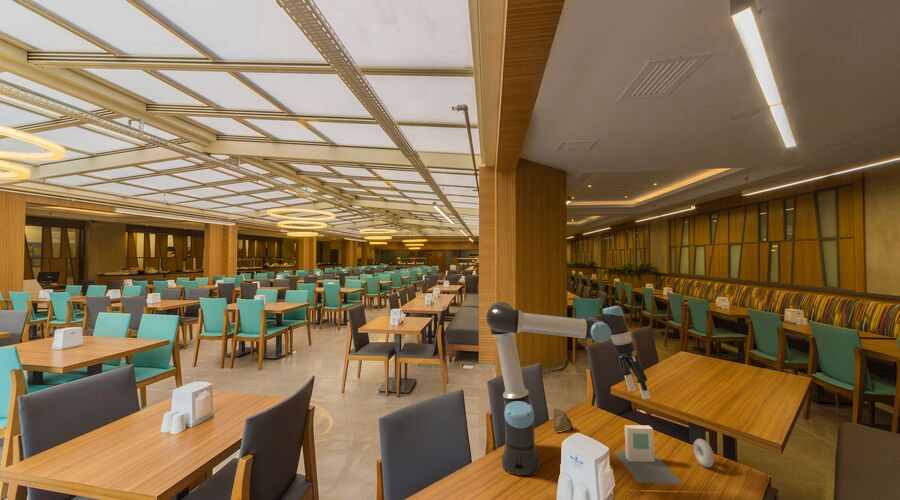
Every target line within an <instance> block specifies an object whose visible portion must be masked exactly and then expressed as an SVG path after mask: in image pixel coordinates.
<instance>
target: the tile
mask: <svg viewBox="0 0 900 500" xmlns="http://www.w3.org/2000/svg"><path fill="white" fill-rule="evenodd" d="M624 441H625V443H624V445H625V446H624V447H625V448H624V449H625V452H626V458H627V459H628V461H639V462H654V454H655V445H654V428H653V427H652V426H650V425H637V424H636V425H635V424H634V425H633V424H631V425H630V424H624Z"/></svg>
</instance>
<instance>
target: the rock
mask: <svg viewBox="0 0 900 500" xmlns="http://www.w3.org/2000/svg"><path fill="white" fill-rule="evenodd" d="M553 419H554V422H553V432H554V431H555V432H557V431H564V430H567V429H569V428H573V429H574V426H573V424H572V422H571V419H570V418H569V417H568V415H567V413H566V412H564V411H563V410H562V409H559V408H554V409H553ZM555 432H554V433H555Z"/></svg>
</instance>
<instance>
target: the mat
mask: <svg viewBox="0 0 900 500" xmlns="http://www.w3.org/2000/svg"><path fill="white" fill-rule="evenodd" d="M614 454H615V455H616V456H617V458H618V459H619V460H620V461H621V463H622V465H624V467H625V468H626V469H627V470H628V472H629V473H630V474H631V476H632V477H633V479H634V480H635V481H636V482H637V484H673V485H674V484H675V485H676V484H677V485H678V484H679V485H684V483H683V482H682V480H681V479H679V477H677V476H676V475H675V474H674V473H673V472H672V471H671V470H670V468H669V467H668V466H667V465H666V464H665V463H664V462H663V461H662V460H661V459H660V458H659V457H658V456H657V455H656V454H655V453H654V462H639V461H628V459H627V458H626V451H614Z"/></svg>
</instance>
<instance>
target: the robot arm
mask: <svg viewBox="0 0 900 500" xmlns="http://www.w3.org/2000/svg"><path fill="white" fill-rule="evenodd" d="M622 309H623V308H622V307H621V306H620V305H613V306H612V305H611V306H609V307H604V308H603V309H602V313H601V314H597V315H591V316H588V317H583V318H576V317H575V318H574V317H567V316H566V317H565V316H555V315H546V314H537V313H529V312H523V311H521V310H520V309H515V308H513V307H512V305H510V304H509V303H507V302H504V301H498V302H494V303H493V304H491V306H489V308H488V310H487V313H486V323H487V325H488V326H489V330H490V335H491V336H492V337H494V338H495V343H496V348H497V354H498V358H499V365H500V369H501V376H502V380H503V383H504V384H503V385H504V389H505V391H504V392H503V394H502V397H503V403H504V412H503V413H504V414H503V415H504V429H505V430H504V434H505V440H504V441H505V443H504V444H505V446H504V450H503V453H502V456H501V467H502V466H503V467H502V469H503V468H504V469H505V470H507V471H509V472H511V473H513V474H519V475H531V474H534V473H536V472H537V471H538V470H539V471H540V469H541V466H540V465H541V464H540V463H541V462H540V458H539V457H538V452H537V450H536V446H535V412H534V407H533V403H532V401H531V400H532V399H531V396H530V392H529V390H528V389H527V388H526V387H525V384H524V380H523V379H524V378H523V372H522V368H521V364H520V363H521V362H520V358H519V352H518V348H517V347H518V346H517V343H516V337H515V334H519V333H520V332H524V333H525V332H526V333H534V334H543V335H549V336H550V335H551V336H560V337H569V338H578V339H579V338H580V339H586V340H594V341H596V342H598V343H605V342H607V341H608V340H610V339H611V341H612V344H613V346H614V350H615V353H616V354H617V355H618V359H619V365H620V366H619V367H620V373H621V374H623V376H624V379H625V383H626V385H627V389H628V392H634V391H637V389H636V386H635V383H634V379H633V376H632V373H633V374H634V376H635V379H636V380H637V381H636V383H637V385H638V387H639V391H640V394H641V396H642V399H643V400H647V399H651V398H652V397H651V393H650V391H649V389H648V388H649V387H648V385H647V382H646V381H648V377H647V376H646V373H645V372H644V370H643V368H642V365H641V364H640V362H639V359H638V357H637V355H633V352H636V348H635V344H634V342H633V341H632V340H633V339H632V336H631V335H632V332H630V331H629V327H628V325H627V320H626V317H625V314H624V311H623V310H622ZM631 371H632V372H631ZM539 468H540V469H539ZM504 469H503V470H504ZM505 470H504V471H505ZM507 471H506V472H507ZM539 471H538V472H539ZM538 472H537V473H538ZM537 473H536V474H537ZM513 474H512V475H513ZM534 475H535V474H534ZM531 476H532V475H531Z"/></svg>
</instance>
